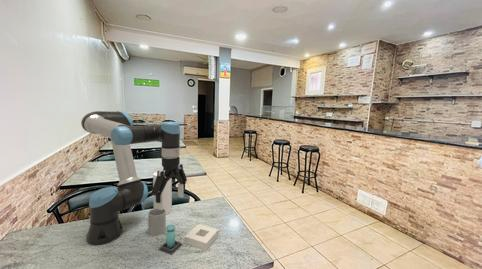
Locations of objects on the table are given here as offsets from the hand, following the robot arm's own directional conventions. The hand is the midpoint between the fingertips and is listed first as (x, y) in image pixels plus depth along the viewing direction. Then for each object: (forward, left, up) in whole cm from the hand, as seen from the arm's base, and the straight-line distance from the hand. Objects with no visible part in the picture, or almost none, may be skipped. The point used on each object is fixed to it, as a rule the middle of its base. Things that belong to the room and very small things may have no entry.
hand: (170, 202), depth 91 cm
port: (+10, +11, -22) cm, 27 cm away
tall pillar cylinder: (-28, +25, -22) cm, 44 cm away
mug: (-16, +9, -22) cm, 29 cm away
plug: (0, 0, -22) cm, 22 cm away
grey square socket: (0, 0, -22) cm, 22 cm away
